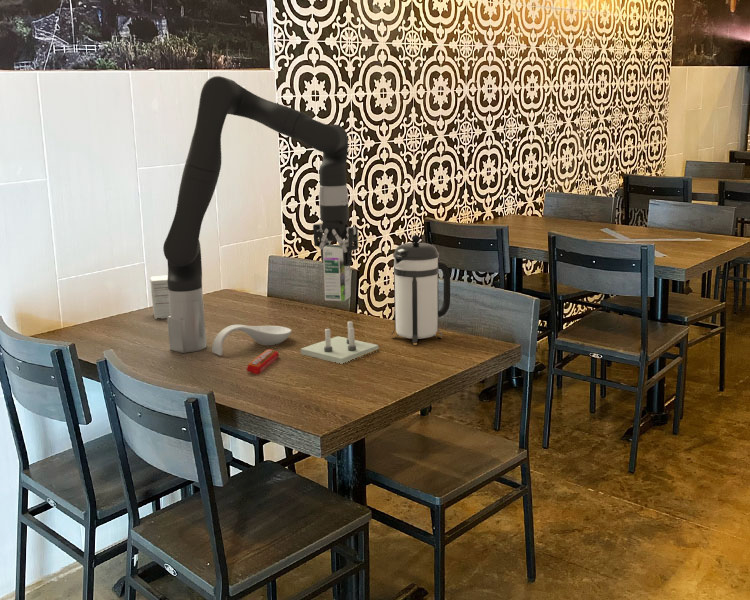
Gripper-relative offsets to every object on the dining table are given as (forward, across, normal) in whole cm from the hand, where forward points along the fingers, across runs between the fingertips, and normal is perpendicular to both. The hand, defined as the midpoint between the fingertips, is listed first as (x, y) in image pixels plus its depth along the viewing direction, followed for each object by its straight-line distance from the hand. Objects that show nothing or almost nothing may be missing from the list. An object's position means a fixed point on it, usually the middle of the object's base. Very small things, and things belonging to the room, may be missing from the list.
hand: (336, 264), depth 220 cm
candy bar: (+25, -8, -21) cm, 33 cm away
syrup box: (+10, 0, 0) cm, 10 cm away
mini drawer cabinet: (+24, -73, -4) cm, 77 cm away
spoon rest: (+24, -23, -10) cm, 35 cm away
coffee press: (+25, +10, +23) cm, 35 cm away
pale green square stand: (+24, 0, -1) cm, 24 cm away
